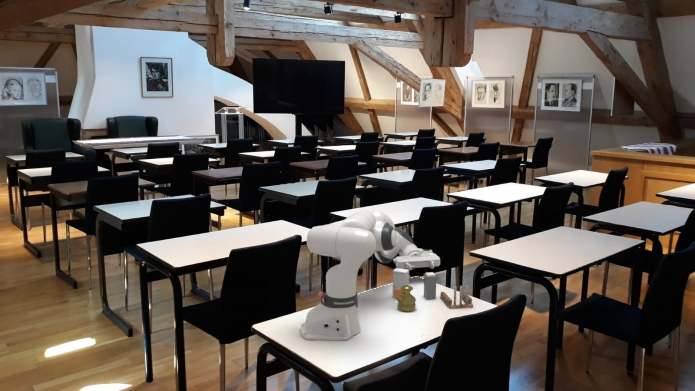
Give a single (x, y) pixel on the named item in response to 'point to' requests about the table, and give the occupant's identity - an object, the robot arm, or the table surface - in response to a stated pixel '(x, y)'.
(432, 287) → the plug
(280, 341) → the table surface
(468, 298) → the cradle
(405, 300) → the brass weight
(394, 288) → the skincare box
